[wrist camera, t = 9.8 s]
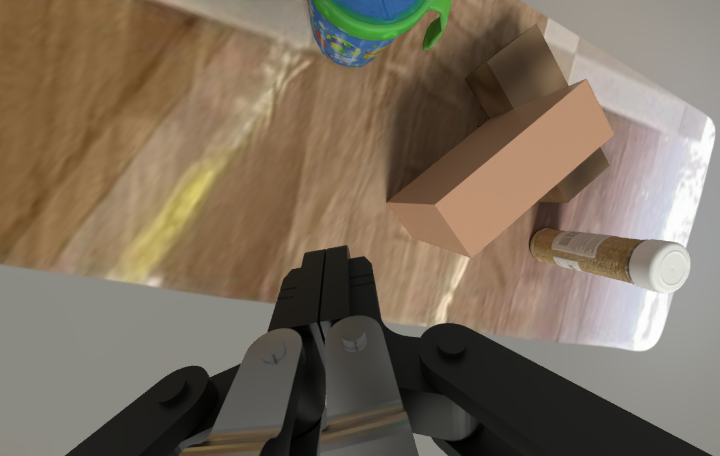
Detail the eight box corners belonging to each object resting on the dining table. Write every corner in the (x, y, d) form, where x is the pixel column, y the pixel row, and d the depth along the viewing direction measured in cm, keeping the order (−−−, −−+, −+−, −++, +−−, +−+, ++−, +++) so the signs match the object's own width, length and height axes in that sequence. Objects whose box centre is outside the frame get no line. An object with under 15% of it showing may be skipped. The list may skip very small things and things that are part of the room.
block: (386, 202, 33) (434, 204, 21) (488, 119, 34) (586, 78, 23) (411, 237, 34) (471, 258, 22) (510, 155, 36) (614, 134, 24)
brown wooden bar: (465, 77, 33) (487, 61, 29) (509, 43, 34) (536, 23, 30) (539, 202, 37) (567, 202, 33) (577, 168, 38) (609, 165, 34)
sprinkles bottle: (533, 267, 38) (657, 303, 25) (524, 234, 37) (648, 254, 24) (561, 253, 38) (697, 282, 25) (553, 221, 38) (689, 234, 25)
